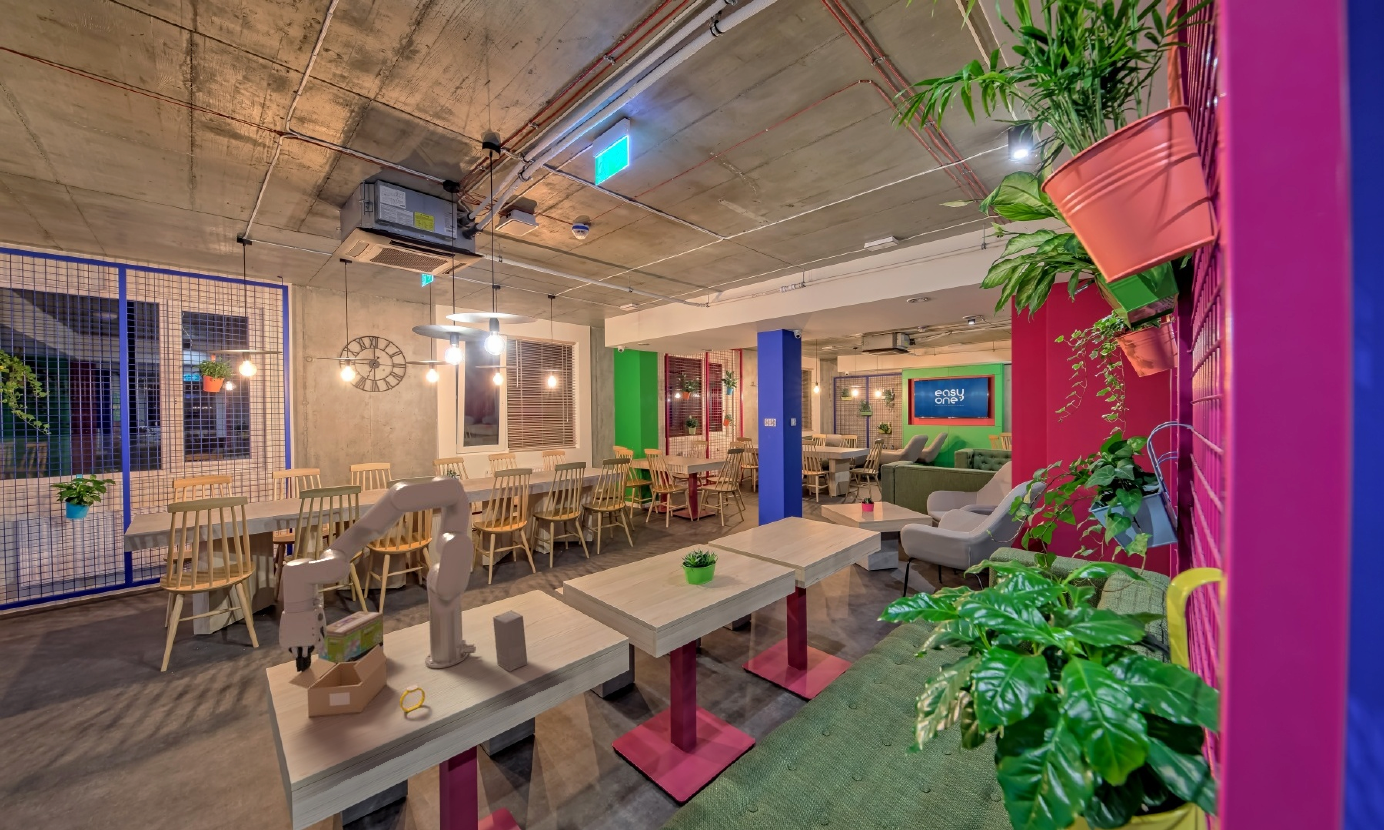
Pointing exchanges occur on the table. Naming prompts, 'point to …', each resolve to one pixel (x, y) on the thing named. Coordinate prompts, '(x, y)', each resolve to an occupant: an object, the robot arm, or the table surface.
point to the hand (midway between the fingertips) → (303, 668)
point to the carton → (344, 690)
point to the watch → (410, 690)
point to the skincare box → (510, 640)
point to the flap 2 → (370, 663)
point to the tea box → (352, 637)
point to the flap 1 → (312, 673)
